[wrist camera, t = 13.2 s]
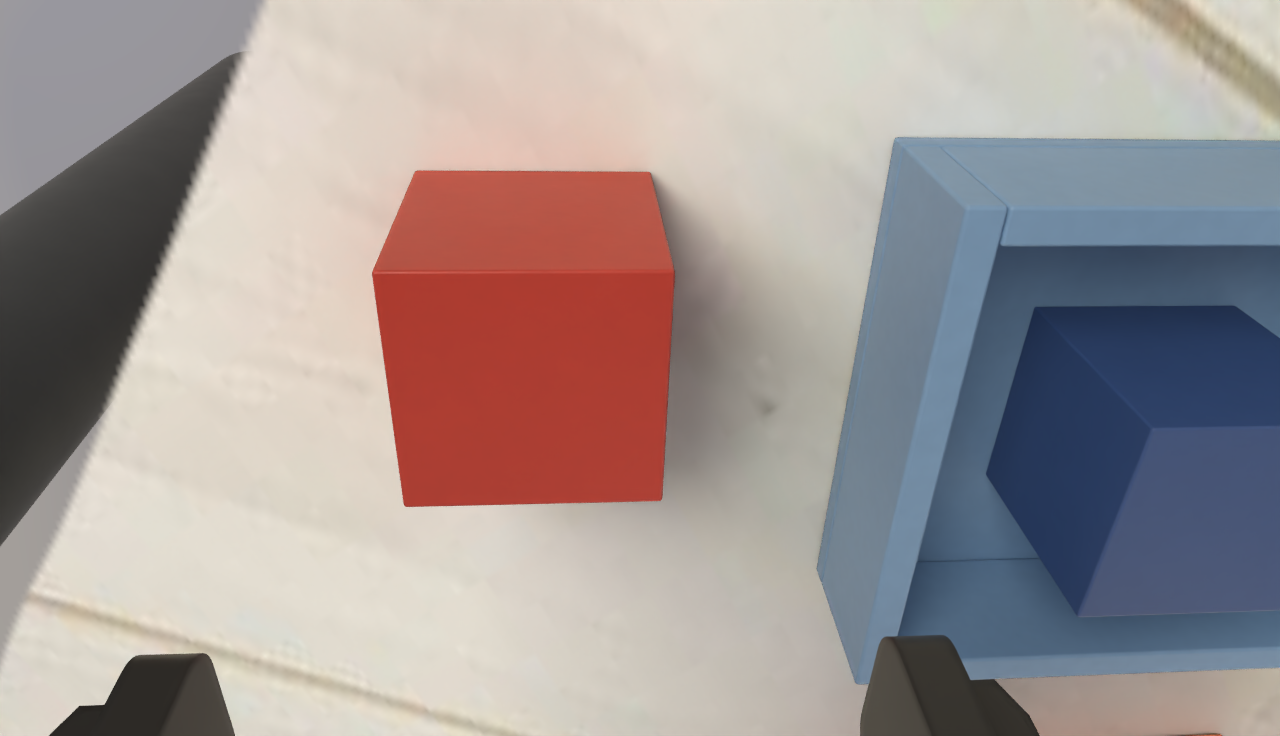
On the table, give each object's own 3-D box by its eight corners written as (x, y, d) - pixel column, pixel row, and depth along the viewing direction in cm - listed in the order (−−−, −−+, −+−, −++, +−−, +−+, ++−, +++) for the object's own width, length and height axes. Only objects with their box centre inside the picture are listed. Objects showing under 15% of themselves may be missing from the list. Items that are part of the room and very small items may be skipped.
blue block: (984, 474, 24) (1076, 619, 19) (1033, 305, 21) (1152, 429, 17) (1165, 470, 24) (1294, 610, 20) (1235, 304, 21) (1401, 424, 17)
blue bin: (815, 568, 26) (854, 686, 22) (893, 136, 19) (966, 206, 16) (1229, 557, 27) (1330, 667, 23) (1438, 141, 20) (1620, 208, 17)
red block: (435, 372, 21) (403, 508, 17) (414, 169, 19) (370, 271, 15) (643, 369, 22) (662, 502, 18) (650, 171, 19) (675, 269, 15)
